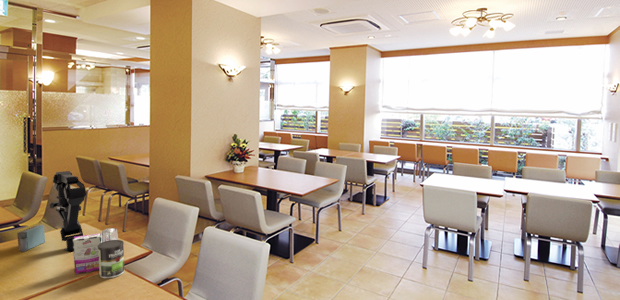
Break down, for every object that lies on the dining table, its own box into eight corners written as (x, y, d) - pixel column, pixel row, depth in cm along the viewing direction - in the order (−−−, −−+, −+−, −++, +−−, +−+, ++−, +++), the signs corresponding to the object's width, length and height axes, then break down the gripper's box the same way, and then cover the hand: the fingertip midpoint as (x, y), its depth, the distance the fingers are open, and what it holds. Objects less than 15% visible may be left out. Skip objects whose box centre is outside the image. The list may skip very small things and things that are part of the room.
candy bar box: (103, 265, 169) (101, 232, 167) (103, 269, 165) (101, 236, 163) (76, 270, 164) (73, 236, 162) (74, 274, 160) (72, 240, 158)
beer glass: (122, 258, 178) (120, 229, 176) (109, 263, 171) (107, 233, 170) (112, 255, 181) (111, 227, 179) (99, 260, 174) (98, 231, 172)
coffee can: (129, 271, 164) (128, 242, 162) (107, 280, 155) (105, 250, 153) (116, 266, 169) (115, 237, 167) (94, 274, 160) (92, 245, 158)
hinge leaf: (45, 242, 194) (44, 225, 193) (24, 252, 181) (22, 233, 180) (41, 242, 194) (40, 225, 193) (20, 251, 182) (18, 233, 180)
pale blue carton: (46, 242, 195) (45, 224, 193) (24, 252, 181) (22, 233, 180) (39, 242, 195) (38, 224, 194) (16, 252, 182) (15, 232, 181)
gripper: (90, 193, 195) (91, 220, 197) (69, 188, 203) (71, 214, 205) (69, 197, 185) (70, 226, 187) (48, 193, 193) (50, 220, 195)
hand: (66, 221), depth 194 cm, fingers closed
